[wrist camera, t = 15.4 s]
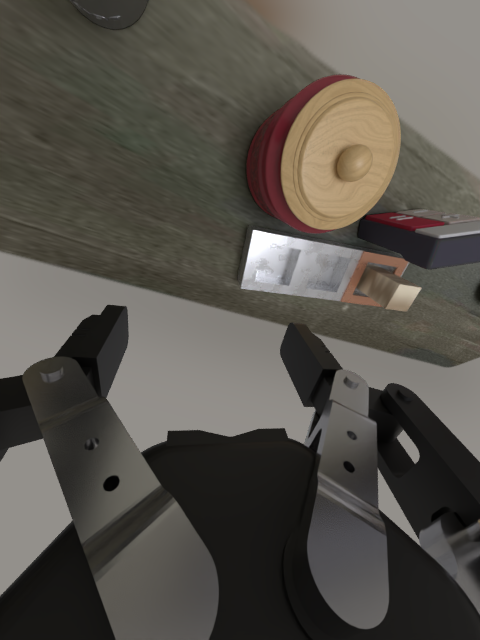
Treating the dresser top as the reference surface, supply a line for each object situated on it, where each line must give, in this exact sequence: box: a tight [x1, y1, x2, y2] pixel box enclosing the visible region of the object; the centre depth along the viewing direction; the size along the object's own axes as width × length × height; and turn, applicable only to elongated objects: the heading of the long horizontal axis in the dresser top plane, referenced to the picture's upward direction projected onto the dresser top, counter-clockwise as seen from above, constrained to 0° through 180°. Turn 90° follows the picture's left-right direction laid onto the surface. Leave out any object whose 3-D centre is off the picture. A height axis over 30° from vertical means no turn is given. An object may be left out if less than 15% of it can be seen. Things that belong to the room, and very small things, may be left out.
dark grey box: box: [358, 209, 480, 269], centre depth 33 cm, size 11×4×15 cm, turn 95°
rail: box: [237, 225, 409, 307], centre depth 40 cm, size 9×28×4 cm, turn 79°
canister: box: [246, 74, 401, 234], centre depth 26 cm, size 13×13×18 cm
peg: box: [356, 264, 421, 311], centre depth 39 cm, size 4×4×10 cm
